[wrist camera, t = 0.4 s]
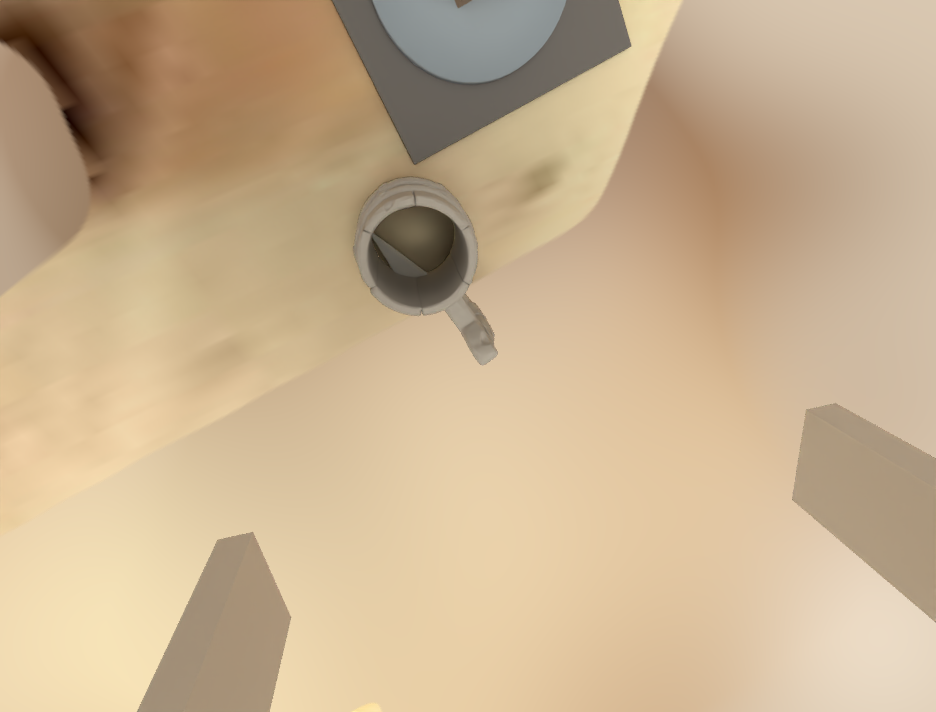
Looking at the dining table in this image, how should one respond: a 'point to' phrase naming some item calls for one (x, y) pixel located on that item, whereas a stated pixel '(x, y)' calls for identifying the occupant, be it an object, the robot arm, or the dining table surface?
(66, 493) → the dining table surface
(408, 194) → the mug
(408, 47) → the lid
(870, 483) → the robot arm
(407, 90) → the mat
